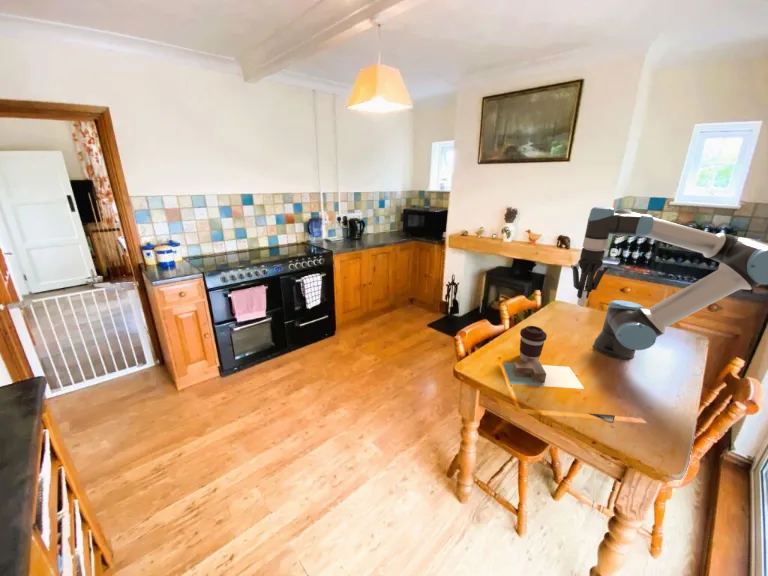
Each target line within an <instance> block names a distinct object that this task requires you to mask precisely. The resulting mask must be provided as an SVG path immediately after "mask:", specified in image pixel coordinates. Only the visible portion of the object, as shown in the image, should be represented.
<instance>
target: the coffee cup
mask: <svg viewBox="0 0 768 576" xmlns="http://www.w3.org/2000/svg"><path fill="white" fill-rule="evenodd" d="M519 334H520V336H521V337H520V342H519V359H520V360H521V361H522V362H527V358H529V359H538V360H539V359H540V356H541V355H542V351H543V348H544V344H545V341H546V340H547V333H546V332H545V331H544V330H543V329H542V328H541V327H539V326H536V325H528V326H525V327H522V328H521V329H520V332H519ZM539 361H540V360H539Z"/></svg>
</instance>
